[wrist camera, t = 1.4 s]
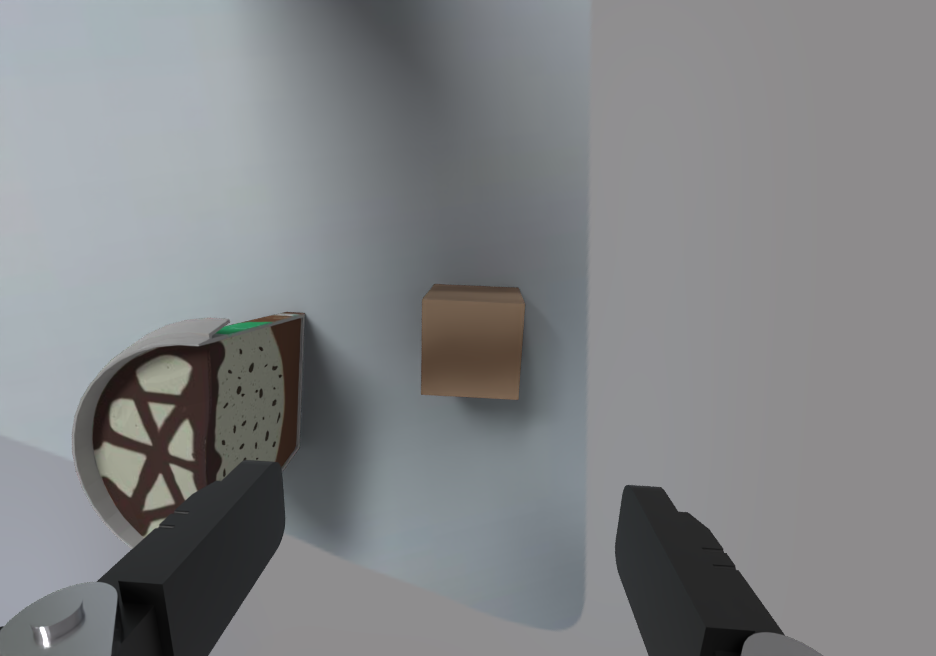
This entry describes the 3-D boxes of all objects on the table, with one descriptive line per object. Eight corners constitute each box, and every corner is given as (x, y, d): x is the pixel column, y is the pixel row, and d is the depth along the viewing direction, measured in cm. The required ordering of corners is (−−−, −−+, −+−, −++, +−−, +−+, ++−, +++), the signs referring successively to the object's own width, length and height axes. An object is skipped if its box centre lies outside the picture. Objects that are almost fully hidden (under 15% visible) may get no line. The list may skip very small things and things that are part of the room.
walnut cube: (434, 283, 26) (422, 299, 21) (518, 287, 26) (525, 303, 21) (433, 362, 27) (421, 394, 22) (513, 366, 27) (518, 399, 22)
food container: (206, 275, 26) (41, 308, 17) (306, 289, 26) (198, 331, 17) (210, 453, 29) (72, 570, 20) (299, 467, 29) (204, 589, 20)
